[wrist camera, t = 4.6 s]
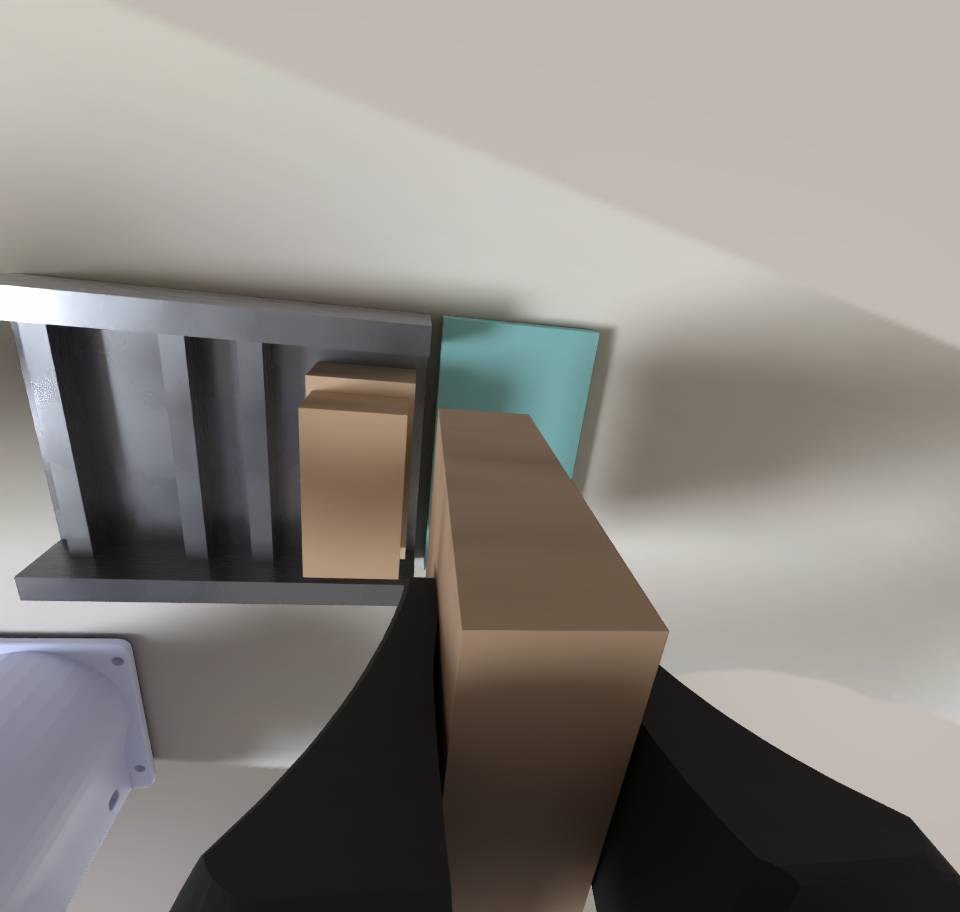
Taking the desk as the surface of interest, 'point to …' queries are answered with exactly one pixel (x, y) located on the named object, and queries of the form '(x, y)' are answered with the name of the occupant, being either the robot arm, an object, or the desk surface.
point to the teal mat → (517, 378)
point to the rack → (189, 437)
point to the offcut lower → (371, 383)
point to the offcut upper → (352, 484)
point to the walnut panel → (529, 667)
